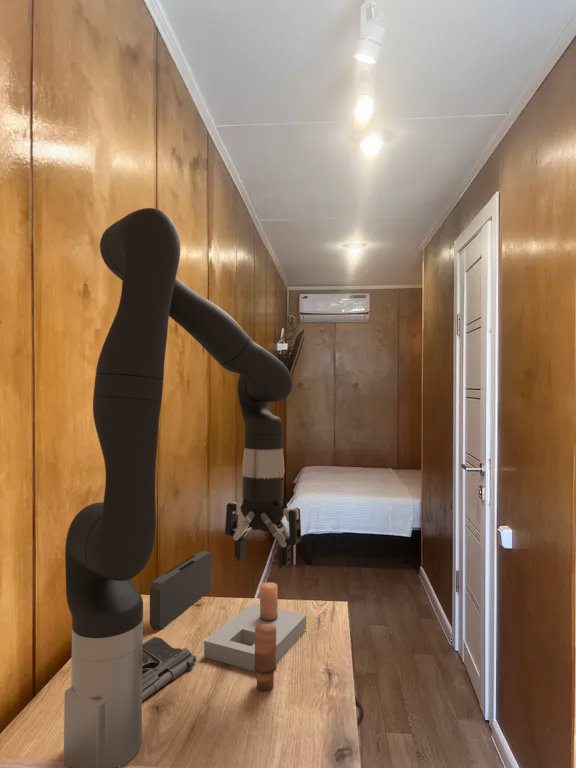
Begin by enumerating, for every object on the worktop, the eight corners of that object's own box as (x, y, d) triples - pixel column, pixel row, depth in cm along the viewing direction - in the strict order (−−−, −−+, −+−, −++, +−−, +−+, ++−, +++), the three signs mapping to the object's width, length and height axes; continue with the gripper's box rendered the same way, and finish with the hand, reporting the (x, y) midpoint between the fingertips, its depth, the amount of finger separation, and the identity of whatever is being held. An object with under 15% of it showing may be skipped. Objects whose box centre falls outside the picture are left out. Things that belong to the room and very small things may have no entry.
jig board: (265, 674, 84) (266, 619, 84) (204, 657, 89) (204, 605, 89) (306, 629, 100) (306, 583, 100) (252, 616, 105) (252, 573, 106)
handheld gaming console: (202, 588, 121) (202, 549, 121) (211, 590, 120) (212, 550, 120) (147, 630, 99) (148, 582, 100) (158, 632, 98) (159, 583, 99)
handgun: (79, 680, 79) (132, 701, 73) (155, 634, 94) (204, 649, 88) (79, 695, 79) (132, 718, 73) (155, 647, 94) (204, 663, 88)
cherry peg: (270, 695, 78) (270, 636, 78) (250, 689, 79) (250, 631, 80) (280, 683, 81) (280, 626, 81) (260, 677, 83) (261, 622, 83)
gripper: (218, 472, 86) (216, 564, 86) (290, 479, 81) (289, 576, 80) (239, 467, 93) (238, 552, 93) (307, 473, 87) (306, 563, 87)
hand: (261, 563), depth 86 cm, fingers open, 8 cm apart
